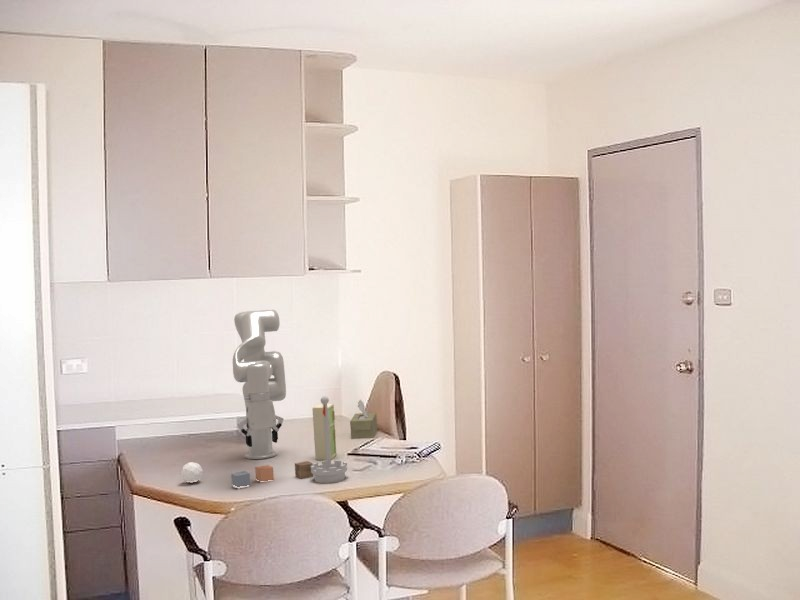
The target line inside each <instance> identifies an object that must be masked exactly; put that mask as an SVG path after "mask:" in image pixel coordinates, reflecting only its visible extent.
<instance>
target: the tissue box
mask: <svg viewBox="0 0 800 600" xmlns="http://www.w3.org/2000/svg"><path fill="white" fill-rule="evenodd" d="M357 404H358V405H357V408H358V409H359V411H360V412H361V413H354V415H353V416H352V418H350V421H349V422H350V439H351V440H357V439H358V440H359V439H373V438H375V435H376V433H377V431H378V423H377V422H378V421H377V420H378V419H377V413H376V412H367V411H366V409H365V402H364V401H363V400H362V399H359V401H358V402H357Z"/></svg>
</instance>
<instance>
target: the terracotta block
mask: <svg viewBox="0 0 800 600" xmlns="http://www.w3.org/2000/svg"><path fill="white" fill-rule="evenodd" d="M254 472H255V480H256V479H257V480H259V481H268V480H274V481H275V475H274V466H271V465H269V464H265V465H259V466H255V467H254Z"/></svg>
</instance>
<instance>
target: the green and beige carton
mask: <svg viewBox="0 0 800 600" xmlns="http://www.w3.org/2000/svg"><path fill="white" fill-rule="evenodd" d="M327 411H328V426H329V441H330V456H331V461H332V460H333V459H334V458H335V457H336V456H337V441H336V440H337V439H336V424H335V423H336V421H335V420H336V418H335V417H336V415H335V405H334V403H327ZM312 423H313V438H314V439H313V440H314V441H313V442H314V450H315V451H314V452H315V453H314V454H315V460H316V461H327V459H326V444H325V429H324V414H323V404H322V403H318V404H316V405H314V406H313V407H312Z"/></svg>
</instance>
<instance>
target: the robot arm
mask: <svg viewBox="0 0 800 600" xmlns="http://www.w3.org/2000/svg"><path fill="white" fill-rule="evenodd" d="M278 313H279V312H277V310H275V309H265V310H263V309H262V310H248V311H241V312H238V313H236V314H235V316H234V319H233V321H234V326H235V329H236V332H237V334H238V336H239V338H240V340H241V343H240V344H239V345H238V346H237V348H236V349H235V350H234V353H233V356H232V373H233V378H234V380H235V381H236V382H238V383H244V384H242V396H243V400H244V405H245V419H243V420H242V421H241V422H239V423H238V424H237V428H238V429H239V431H240V432H241V433H242V434H244V436H245V444H246V445H247V447H248V451H249V452H247V453H245V458H246V459H247V460H265V459H271V458H274V457H276V456H277V454H278V453H277V451H276V450H273V443H275V444H276V443H278V440H279V434H278V432H279V430H280V428H281V427H282V425H283V422H284V420H285V419H284V417H281V416H279V415H276V411H275V406H274V402H279V401H282V400H284V399H285V398H286V395H287V387H286V385H287V384H286V383H287V382H286V374H285V373H286V372H285V361H284V358H283V355H282V353H281V352H279V351H276V350H273V351H272V350H271V351H265V346H266V335H265V333H267V332H268V333H269V332H277V331H278V330H279V328H280V325H281V324H280V317H279V314H278ZM277 421H278V422H277ZM245 426H246V429H245V428H244V427H245Z"/></svg>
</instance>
